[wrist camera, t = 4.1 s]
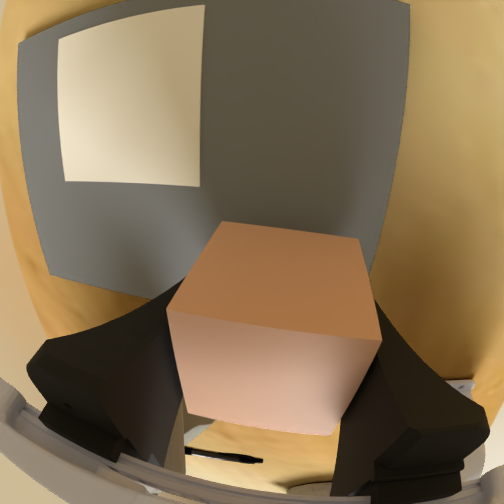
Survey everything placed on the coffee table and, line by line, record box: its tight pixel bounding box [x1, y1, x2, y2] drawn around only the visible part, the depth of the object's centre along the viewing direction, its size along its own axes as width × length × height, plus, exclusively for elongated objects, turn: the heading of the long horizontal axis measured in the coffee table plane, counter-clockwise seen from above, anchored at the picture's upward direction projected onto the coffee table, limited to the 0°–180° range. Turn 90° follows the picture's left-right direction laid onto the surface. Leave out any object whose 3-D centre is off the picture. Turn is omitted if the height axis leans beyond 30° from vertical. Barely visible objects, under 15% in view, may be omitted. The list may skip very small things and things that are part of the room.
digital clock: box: [133, 395, 215, 495], centre depth 18 cm, size 16×9×11 cm, turn 141°
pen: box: [184, 447, 263, 464], centre depth 30 cm, size 14×2×1 cm, turn 98°
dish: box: [286, 482, 332, 497], centre depth 32 cm, size 14×14×5 cm
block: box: [166, 221, 382, 436], centre depth 10 cm, size 5×5×5 cm
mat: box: [17, 0, 410, 300], centre depth 13 cm, size 20×16×1 cm
